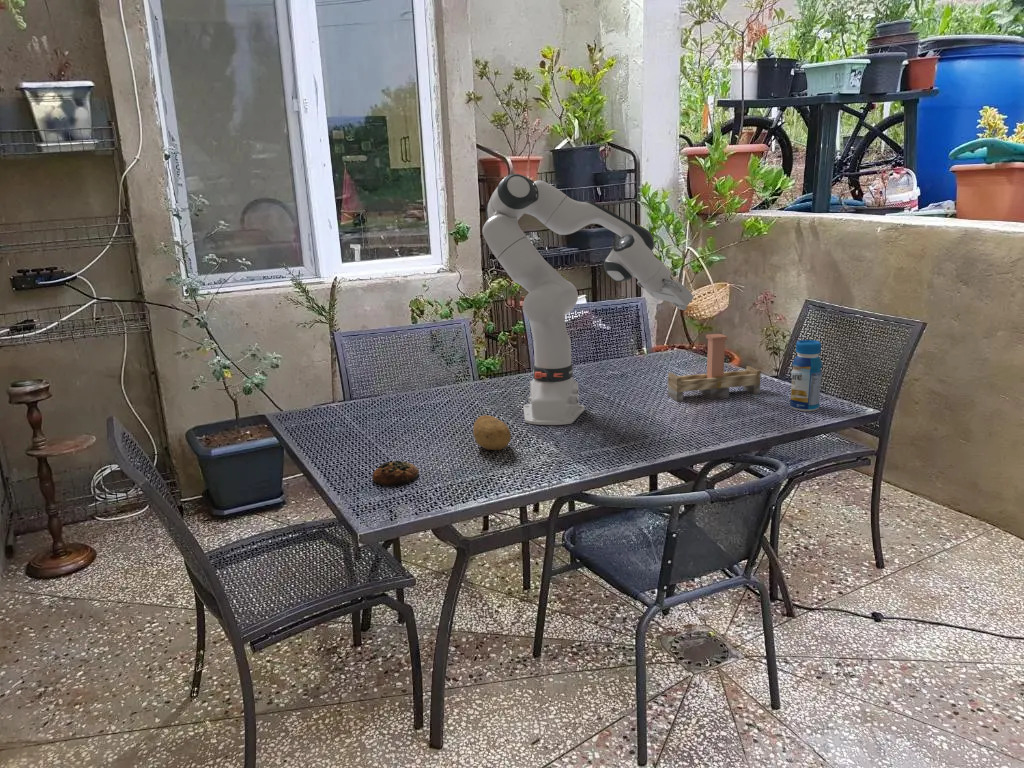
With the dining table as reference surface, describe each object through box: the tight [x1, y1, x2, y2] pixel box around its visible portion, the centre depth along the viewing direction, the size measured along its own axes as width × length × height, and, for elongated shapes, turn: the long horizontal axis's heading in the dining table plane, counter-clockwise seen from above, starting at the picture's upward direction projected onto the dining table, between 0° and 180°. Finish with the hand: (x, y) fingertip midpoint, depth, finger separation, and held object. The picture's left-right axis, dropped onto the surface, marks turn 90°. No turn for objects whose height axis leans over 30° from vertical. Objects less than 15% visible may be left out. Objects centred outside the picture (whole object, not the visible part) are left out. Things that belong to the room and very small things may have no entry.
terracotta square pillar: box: [705, 333, 728, 378], centre depth 234 cm, size 5×5×14 cm
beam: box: [667, 365, 762, 402], centre depth 236 cm, size 28×9×7 cm, turn 101°
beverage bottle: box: [789, 339, 823, 412], centre depth 218 cm, size 8×8×20 cm
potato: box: [472, 414, 512, 451], centre depth 195 cm, size 10×14×8 cm
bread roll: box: [371, 460, 420, 487], centre depth 179 cm, size 11×11×5 cm
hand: (683, 308), depth 229 cm, fingers closed
